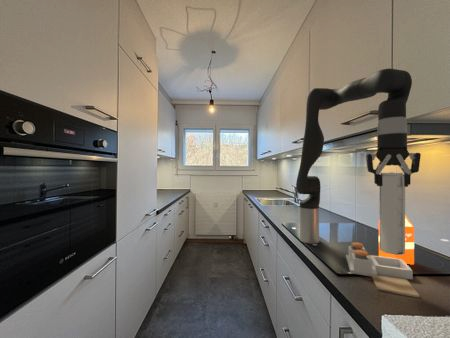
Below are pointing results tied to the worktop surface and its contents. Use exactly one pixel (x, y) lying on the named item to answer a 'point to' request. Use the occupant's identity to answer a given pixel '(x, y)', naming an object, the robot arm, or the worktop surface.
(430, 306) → the worktop surface
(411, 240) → the orange juice
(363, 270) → the housing
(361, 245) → the plunger
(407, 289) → the mat
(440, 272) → the worktop surface
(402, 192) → the silver metal cylinder
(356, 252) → the plunger
